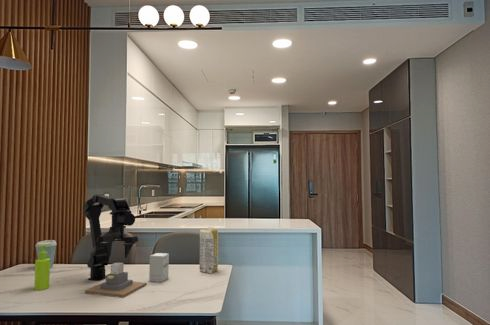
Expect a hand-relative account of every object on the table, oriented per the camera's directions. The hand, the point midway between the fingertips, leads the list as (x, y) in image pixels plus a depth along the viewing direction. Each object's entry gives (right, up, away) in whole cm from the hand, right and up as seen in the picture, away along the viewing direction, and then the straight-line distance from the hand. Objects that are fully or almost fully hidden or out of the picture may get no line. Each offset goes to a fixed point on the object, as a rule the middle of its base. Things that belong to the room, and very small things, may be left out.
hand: (117, 257), depth 167 cm
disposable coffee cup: (-53, -15, +32) cm, 64 cm away
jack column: (+2, -12, -6) cm, 13 cm away
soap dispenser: (-33, -13, -4) cm, 36 cm away
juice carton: (+41, -15, +26) cm, 50 cm away
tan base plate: (+2, -13, -6) cm, 14 cm away
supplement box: (+17, -14, +9) cm, 24 cm away
